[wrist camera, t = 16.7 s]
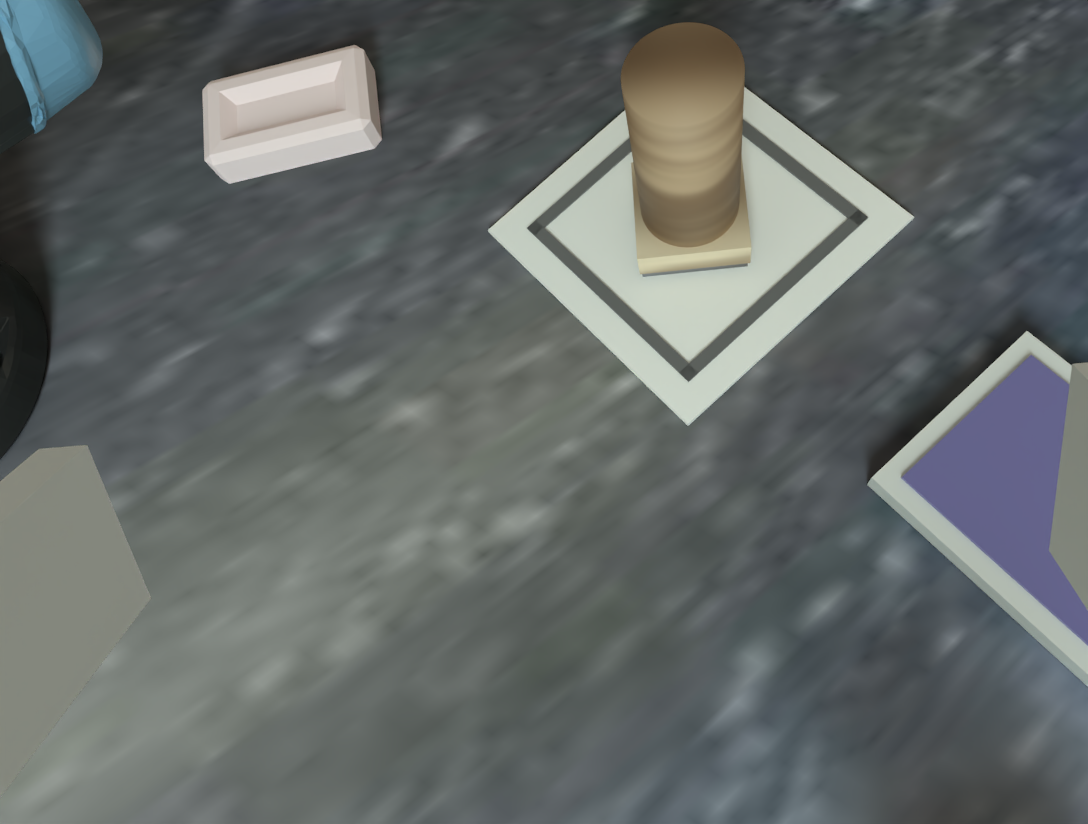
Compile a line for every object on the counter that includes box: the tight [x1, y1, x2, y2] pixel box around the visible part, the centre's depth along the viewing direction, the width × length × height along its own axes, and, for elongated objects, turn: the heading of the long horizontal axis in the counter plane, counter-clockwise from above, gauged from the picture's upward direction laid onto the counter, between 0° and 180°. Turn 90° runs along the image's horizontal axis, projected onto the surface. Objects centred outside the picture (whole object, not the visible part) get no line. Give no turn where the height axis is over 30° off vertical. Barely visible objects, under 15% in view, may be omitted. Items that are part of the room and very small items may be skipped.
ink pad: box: [867, 331, 1088, 686], centre depth 36 cm, size 12×9×1 cm
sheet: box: [488, 87, 914, 426], centre depth 43 cm, size 14×14×1 cm
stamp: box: [621, 22, 751, 277], centre depth 38 cm, size 5×5×11 cm
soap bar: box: [202, 45, 382, 184], centre depth 49 cm, size 5×9×2 cm, turn 100°
